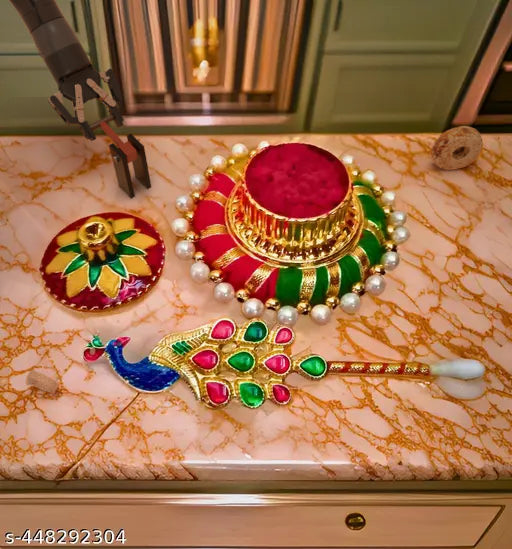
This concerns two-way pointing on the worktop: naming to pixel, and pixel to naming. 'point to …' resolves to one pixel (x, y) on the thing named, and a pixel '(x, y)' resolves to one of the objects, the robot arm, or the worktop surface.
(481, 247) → the worktop surface
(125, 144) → the latch lever
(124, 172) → the latch bracket
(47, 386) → the beige block
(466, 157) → the stone disc
